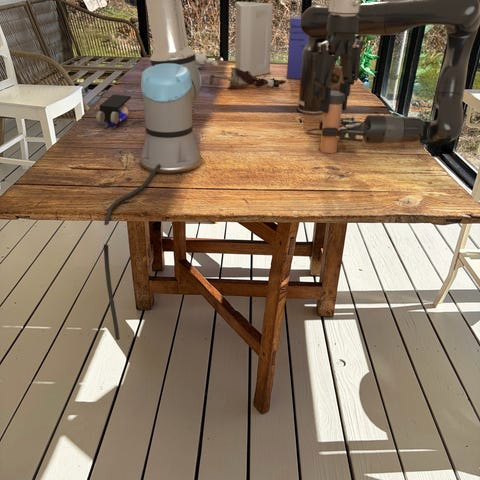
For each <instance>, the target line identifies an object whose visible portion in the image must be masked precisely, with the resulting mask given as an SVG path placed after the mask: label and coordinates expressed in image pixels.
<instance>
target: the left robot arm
mask: <svg viewBox="0 0 480 480" xmlns="http://www.w3.org/2000/svg"><path fill="white" fill-rule="evenodd" d="M145 4H146V10H147V16H148V21H149V22H148V23H149V27H150V33H151V39H152V44H153V49H154V50H153V53H152V54H151V56H150V57H149V60H150V66H147V67H146V68H144V69H143V71H142V73H141V77H140V78H141V79H140V81H141V82H140V90H141V94H142V105H143V115H144V125H145V126H144V127H145V138H144V142H143V146H142V150H141V154H140V162H141V166H142V168H144V169H145V170H146V171H149V172H151V173H150V174H149V175H148V177H147V178H146V180H145V181H144V182H143V183H142V184H141V185H140V186H139V187H137V188H136V189H134V190H133V191H130V192H129V193H127V194H125V195H122V196H121V197H119V198H117V199H116V200H115V201H114V202H113V203H111V204H110V205H109V207H108V208H107V210H106V214H105V218H104V223H103V225H104V226H108V225H109V224H110V220H111V215H112V212H113V210H114V209H115V208H116V207H117V206H118V205H119V204H121V203H122V202H123V201H125V200H128V199H130V198H131V197H133V196H135V195H137V194H138V193H140V192H141V191H143V190H144V189H145V188H146V187H147V186H148V185H149V183H150V182H151V180H152V179H153V178H154V176H155V175H156V174H163V175H164V174H165V175H169V174H170V175H172V174H173V175H175V174H182V173H187V172H190V171H193V170H195V169H197V168H198V167H199V166H201V163H202V155H201V151H200V149H199V146H198V143H201V137H200V136H198V135H196V134H195V133H194V130H193V129H194V126H193V104H194V102H195V101H196V99H197V98H198V96H200V92H201V89H202V75H201V72H200V70H199V68H197V65H196V58H195V54H196V53H195V51H194V50H193V49H192V48H191V47H190V46H189V45H188V37H187V29H186V24H185V17H184V10H183V5H182V4H183V3H182V0H145ZM361 4H362V0H329V2H328V5H329V9H328V11H329V12H330V13H331V14H330V15H329V16H328V21H327V31H328V36H327V38H326V41H324V42H322V43H317V44H316V48H317V60H316V69H315V77H314V83H315V84H318V85H320V95H319V98H320V99H321V102H320V111H322V112H325V113H328V112H329V103H330V94H331V87H329V83H330V80H331V77H332V74H333V70H334V67H335V66H336V63H337V61H338V60H340V65H341V67H342V76H343V82H344V83H340V88H338V89H339V90H338V91H341V92H344V93H345V101H344V102H343V105H342V111H346V110H347V106H348V99H349V96H350V95H351V86H354V85H355V82H357V81H358V80H359V75H360V65H361V56H362V49H363V47H364V44H365V41H364V40H363V39H357V37H356V36H357V35H355V33H356V32H357V31H358V24H359V16H358V15H357V14H358V13H359V12H360V8H361ZM197 142H198V143H197ZM109 255H110V254H109V244H103V259H104V271H105V279H106V280H105V281H106V288H107V295H108V300H109V305H110V306H109V307H110V311H111V317H112V323H113V330H114V337H115V340H116V341H119V340H120V338H121V337H120V330H119V324H118V318H117V311H116V308H115V307H116V306H115V300H114V293H113V288H112V280H111V271H110V256H109Z"/></svg>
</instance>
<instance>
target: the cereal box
mask: <svg viewBox="0 0 480 480" xmlns="http://www.w3.org/2000/svg"><path fill="white" fill-rule="evenodd" d="M289 19H290V20H289V34H288V37H289V38H288V50H287V51H288V52H287V64H286V65H287V67H286V79H287V80H288V79H289V80H290V79H291V80H292V79H293V80H294V79H295V80H300V78H301V66H302V53H303V49H304V48H305V46H306V44H307V42H308V37H309V36H308V35H306V34H305V33H304V32H303V31H302V29H301V26H300V19H301V17H294V16H292V17H291V16H290V18H289Z"/></svg>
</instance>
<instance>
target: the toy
mask: <svg viewBox="0 0 480 480" xmlns="http://www.w3.org/2000/svg"><path fill="white" fill-rule="evenodd" d="M195 58H196V65H197V68H198V69H201V66H204V65H207V64H212V65H213V66H214V67H216V68H217V67H218V66H219V63H218V62H217V61H216V60H215V59H213V58H207V56H206V55H205V54H202V53H201V51H197V52H196V53H195Z"/></svg>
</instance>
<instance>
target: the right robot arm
mask: <svg viewBox="0 0 480 480" xmlns="http://www.w3.org/2000/svg"><path fill="white" fill-rule="evenodd" d="M328 9H329V4H325V3H320V4H316V5H311V6H310V7H308V8H307V9H305V11H304V12H303V13H302V15H301V19H300V26H301V29H302V31H303V32H304V33H305V34H306V35H308V36H309V37H308V42H307V44H306V46H305V48H304V49H303V53H302V66H301V78H300V79H299V81H300V82H299V94H298V99H297V104H298V106H297V111H298V112H299V113H301V114H306V115H320V114H324V112H322V111H320V102H321V99H320V98H319V95H320V85H318V84H315V83H314V77H315V69H316V60H317V48H316V44H317V43H322V42H324V41H326V38H327V36H328V31H327V21H328V16H329V15H330V14H331V13H330V12H329V11H328ZM357 15H358V16H359V24H358V31H357V32H356V33H355V36H395V35H398V34H401V33H404V32H406V31H409V30H412V29H414V28H416V27H420V26H428V25H429V26H430V25H432V26H433V25H434V26H435V25H437V26H438V25H439V26H444V28H445V30H446V52H445V57H444V61H443V64H442V67H441V69H440V73H439V76H438V80H437V85H436V90H435V97H434V107H435V108H436V109H437V118H436V119H435V120H423V119H422V118H421V117H418V116H398V115H383V114H382V115H381V114H379V115H377V114H369V115H367V116H365V119H364V121H360V120H358V119H355V117H353V116H352V117H341V121H340V127H339V128H322V125H323V120H321V121H319V125H318V130H320V131H321V135H322V136H336V137H337V138H338V139H339V140H340V141H347V142H355V143H357V142H358V143H362V142H364V143H365V144H368V145H369V144H370V145H371V144H373V145H375V144H376V145H379V144H380V145H392V144H418V145H424V146H435V147H437V146H444V145H447V144H448V143H450V142H452V141H454V140H457V138H458V137H459V136H460V135H461V133H462V131H463V126H464V109H463V108H464V107H463V100H464V96H465V89H466V82H467V75H468V66H469V62H470V61H469V60H470V57H471V56H470V55H471V52H472V49H473V44H474V42H475V39H476V36H477V34H478V30H479V27H480V0H378V1H377V0H375V1H369V2H363V3H361V8H360V12H359V13H358V14H357Z"/></svg>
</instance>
